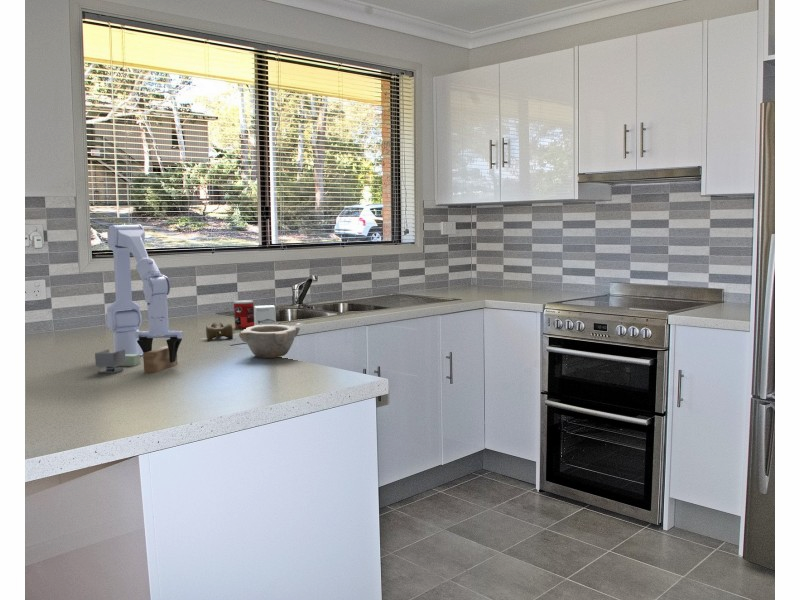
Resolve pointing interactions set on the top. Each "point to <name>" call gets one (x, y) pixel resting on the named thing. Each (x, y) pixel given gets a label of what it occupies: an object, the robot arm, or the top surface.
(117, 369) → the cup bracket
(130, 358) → the block
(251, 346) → the mortar
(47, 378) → the top surface
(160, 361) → the walnut rail
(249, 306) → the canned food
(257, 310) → the supplement box
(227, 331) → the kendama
